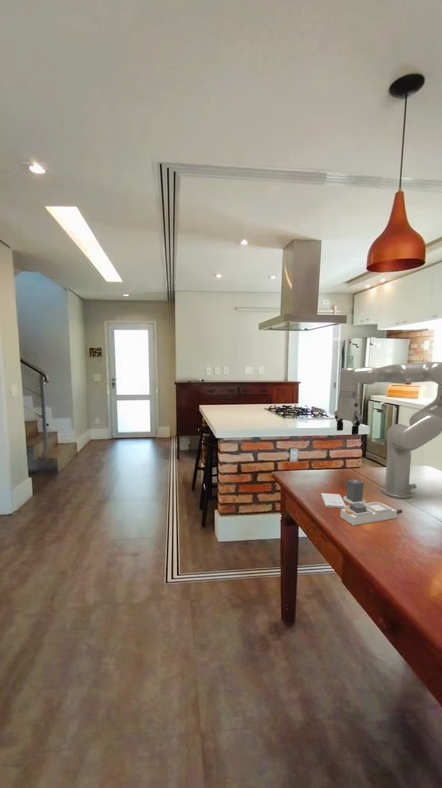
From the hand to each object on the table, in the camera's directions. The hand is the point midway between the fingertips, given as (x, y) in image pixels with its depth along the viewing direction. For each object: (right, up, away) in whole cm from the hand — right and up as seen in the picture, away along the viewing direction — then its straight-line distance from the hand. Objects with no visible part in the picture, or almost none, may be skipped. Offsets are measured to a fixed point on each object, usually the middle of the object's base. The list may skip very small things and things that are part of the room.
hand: (347, 432), depth 153 cm
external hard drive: (-10, -29, -10) cm, 32 cm away
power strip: (+2, -30, -24) cm, 38 cm away
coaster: (0, -28, -9) cm, 29 cm away
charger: (0, -28, -9) cm, 29 cm away
